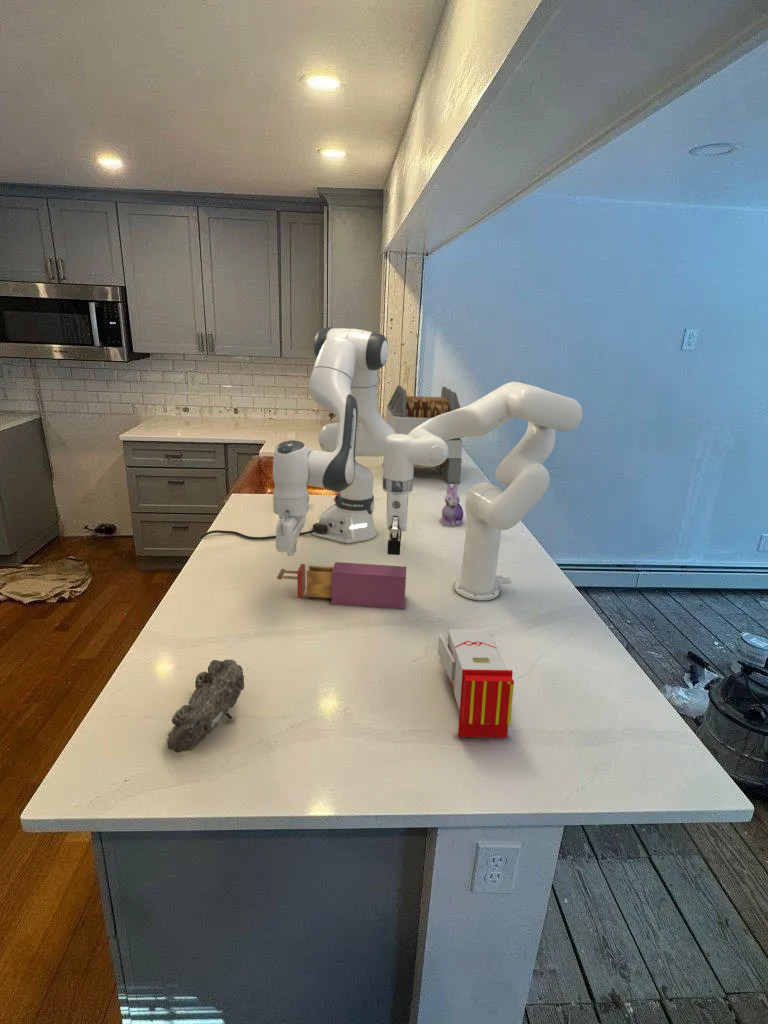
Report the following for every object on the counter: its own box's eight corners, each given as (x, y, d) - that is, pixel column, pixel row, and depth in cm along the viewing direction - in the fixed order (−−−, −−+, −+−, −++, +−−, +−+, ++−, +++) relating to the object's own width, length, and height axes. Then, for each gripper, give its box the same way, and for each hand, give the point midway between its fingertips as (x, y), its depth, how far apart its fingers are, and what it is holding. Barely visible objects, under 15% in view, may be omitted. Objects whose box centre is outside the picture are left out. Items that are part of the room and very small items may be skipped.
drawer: (277, 596, 152) (276, 570, 149) (281, 587, 157) (280, 562, 154) (366, 602, 151) (366, 576, 148) (367, 593, 156) (368, 567, 153)
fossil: (192, 660, 117) (244, 628, 112) (224, 691, 120) (276, 661, 115) (142, 746, 98) (202, 712, 93) (182, 779, 101) (242, 748, 96)
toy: (488, 613, 130) (523, 677, 101) (484, 667, 133) (517, 744, 104) (435, 612, 130) (455, 676, 101) (432, 666, 133) (451, 743, 103)
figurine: (448, 528, 206) (452, 489, 201) (433, 519, 215) (436, 481, 210) (470, 525, 210) (473, 486, 205) (454, 516, 219) (457, 479, 214)
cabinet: (331, 604, 151) (331, 572, 148) (334, 592, 157) (335, 561, 154) (404, 608, 150) (406, 576, 147) (404, 597, 156) (406, 566, 153)
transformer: (382, 463, 289) (386, 382, 275) (445, 464, 293) (451, 384, 279) (390, 482, 257) (394, 392, 243) (460, 483, 261) (468, 394, 247)
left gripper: (294, 519, 136) (295, 572, 140) (310, 493, 155) (310, 540, 159) (268, 518, 136) (270, 570, 140) (287, 492, 155) (287, 539, 160)
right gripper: (412, 495, 134) (408, 561, 140) (412, 475, 150) (409, 535, 156) (380, 493, 134) (377, 559, 140) (384, 473, 150) (381, 533, 156)
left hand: (291, 554), depth 150 cm, fingers closed
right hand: (394, 546), depth 148 cm, fingers open, 9 cm apart
